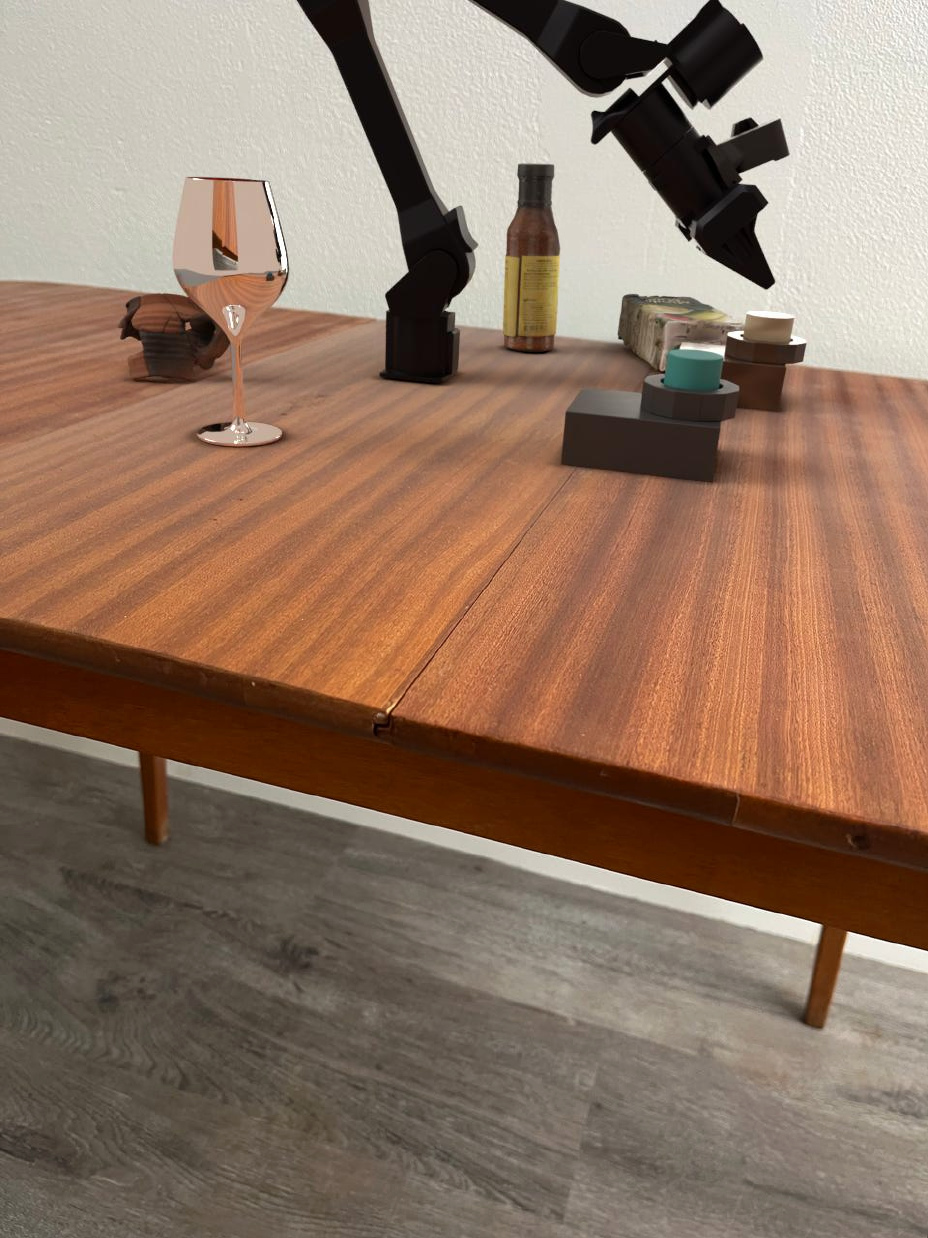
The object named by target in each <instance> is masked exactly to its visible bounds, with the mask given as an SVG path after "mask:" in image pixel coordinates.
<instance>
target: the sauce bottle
mask: <svg viewBox="0 0 928 1238" xmlns="http://www.w3.org/2000/svg"><path fill="white" fill-rule="evenodd" d="M516 173H517V174H516V176H517V179H518V192H517V193H518V197H517V201H516V203H517V208H516V211H515V214H514V217H513V219H512V220H511V222H510V224H509V225H508V227H507V230H506V248H505V249H506V251H505V252H506V253H505V255H504V256H505V257H504V282H503V284H504V285H503V315H502V316H503V317H502V335H504V336H503V337H504V338H503V345H504V347H505V348H506V349H509V350H514V351H517V352H524V353H525V352H526V353H540V352H542V353H543V352H547V351H551V350H553V349H554V347H555V335H556V334H557V325H558V304H559V288H560V287H559V285H560V266H561V265H560V263H561V244H560V238H559V237H560V236H559V233H558V228H557V226H556V223H555V217H554V213H553V208H552V206H553V201H552V200H553V199H552V197H553V195H552V194H553V180H554V178H555V164H554V163H532V162H524V163H518V164H517V171H516Z"/></svg>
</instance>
